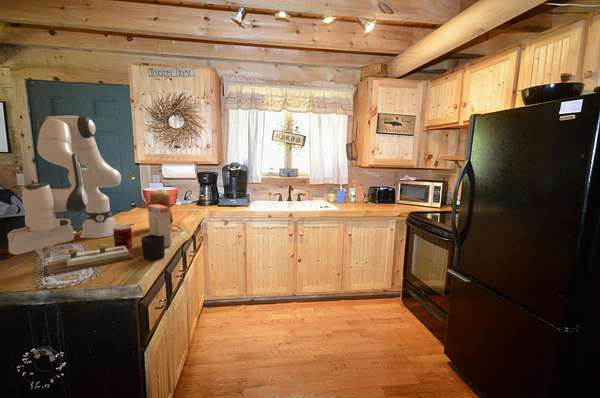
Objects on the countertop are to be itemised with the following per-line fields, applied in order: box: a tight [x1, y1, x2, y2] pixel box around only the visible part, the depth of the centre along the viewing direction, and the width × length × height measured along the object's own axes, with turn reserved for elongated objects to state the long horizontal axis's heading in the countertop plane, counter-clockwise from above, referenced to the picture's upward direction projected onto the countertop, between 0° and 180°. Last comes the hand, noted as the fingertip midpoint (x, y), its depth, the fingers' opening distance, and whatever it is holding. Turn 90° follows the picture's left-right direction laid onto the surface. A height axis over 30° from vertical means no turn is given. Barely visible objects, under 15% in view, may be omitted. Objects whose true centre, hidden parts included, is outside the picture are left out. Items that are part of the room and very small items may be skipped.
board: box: [46, 243, 134, 276], centre depth 120 cm, size 14×29×7 cm, turn 132°
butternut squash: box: [149, 189, 174, 225], centre depth 177 cm, size 14×13×25 cm
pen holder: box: [140, 234, 166, 262], centre depth 127 cm, size 9×9×10 cm
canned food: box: [113, 224, 133, 250], centre depth 139 cm, size 8×8×11 cm
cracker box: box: [147, 204, 172, 248], centre depth 145 cm, size 14×6×21 cm, turn 47°
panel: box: [65, 246, 130, 267], centre depth 122 cm, size 10×22×4 cm, turn 132°
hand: (45, 257), depth 111 cm, fingers closed
